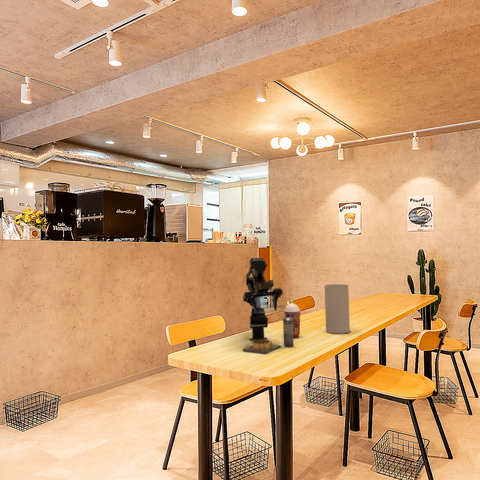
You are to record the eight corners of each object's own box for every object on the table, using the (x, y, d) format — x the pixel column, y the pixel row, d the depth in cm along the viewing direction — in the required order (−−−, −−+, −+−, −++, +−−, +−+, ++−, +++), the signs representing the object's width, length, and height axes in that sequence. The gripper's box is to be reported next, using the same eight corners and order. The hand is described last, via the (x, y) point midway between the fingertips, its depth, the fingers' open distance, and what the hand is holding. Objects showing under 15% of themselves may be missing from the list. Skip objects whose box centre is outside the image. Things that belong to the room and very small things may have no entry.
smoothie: (283, 338, 208) (282, 298, 208) (287, 334, 216) (285, 297, 216) (299, 339, 205) (298, 299, 205) (302, 335, 213) (301, 297, 213)
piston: (286, 344, 194) (285, 317, 194) (295, 345, 191) (294, 317, 191) (281, 346, 190) (281, 318, 190) (291, 347, 187) (290, 319, 188)
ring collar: (258, 344, 195) (258, 337, 195) (280, 347, 188) (280, 339, 188) (242, 351, 183) (242, 343, 183) (265, 354, 176) (265, 346, 177)
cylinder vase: (325, 329, 227) (324, 284, 228) (348, 329, 225) (347, 284, 225) (326, 334, 215) (324, 286, 215) (350, 334, 213) (349, 286, 213)
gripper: (244, 276, 189) (250, 307, 182) (281, 272, 194) (290, 302, 187) (239, 285, 199) (246, 316, 191) (275, 282, 203) (283, 311, 196)
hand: (266, 311), depth 191 cm, fingers open, 9 cm apart
